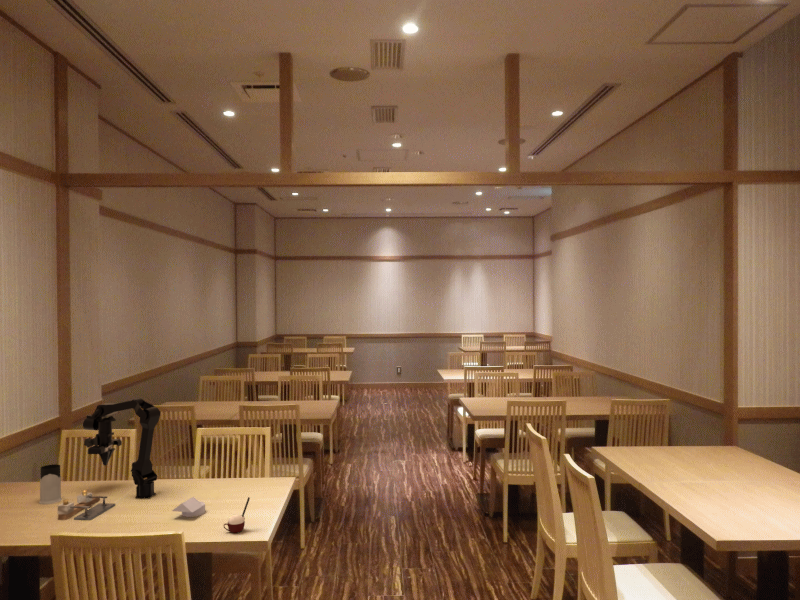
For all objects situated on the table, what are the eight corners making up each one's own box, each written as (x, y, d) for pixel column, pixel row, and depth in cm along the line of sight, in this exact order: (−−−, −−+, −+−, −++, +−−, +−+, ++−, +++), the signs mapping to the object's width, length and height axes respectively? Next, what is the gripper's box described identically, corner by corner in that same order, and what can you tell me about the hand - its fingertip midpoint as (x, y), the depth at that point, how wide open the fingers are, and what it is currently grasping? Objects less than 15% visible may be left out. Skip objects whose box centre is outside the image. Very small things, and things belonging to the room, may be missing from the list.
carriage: (109, 502, 259) (109, 489, 259) (104, 506, 255) (104, 492, 255) (83, 502, 260) (83, 488, 260) (77, 505, 256) (77, 492, 256)
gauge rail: (118, 500, 266) (117, 484, 266) (85, 520, 242) (85, 502, 242) (91, 500, 267) (91, 484, 267) (57, 519, 243) (57, 502, 243)
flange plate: (115, 505, 260) (115, 503, 260) (90, 520, 242) (90, 517, 242) (99, 505, 260) (99, 502, 260) (74, 519, 242) (74, 517, 242)
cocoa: (222, 535, 226) (220, 503, 225) (228, 528, 232) (226, 497, 232) (247, 534, 225) (246, 502, 225) (252, 527, 232) (250, 496, 231)
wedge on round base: (192, 521, 240) (209, 510, 253) (192, 503, 240) (209, 493, 253) (171, 519, 242) (189, 508, 255) (171, 502, 242) (189, 492, 255)
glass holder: (37, 505, 260) (37, 470, 260) (41, 496, 273) (41, 462, 273) (61, 502, 264) (61, 467, 264) (63, 493, 277) (63, 460, 277)
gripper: (99, 426, 289) (99, 460, 289) (76, 435, 270) (76, 470, 270) (122, 427, 288) (122, 460, 288) (100, 435, 270) (100, 470, 269)
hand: (105, 465), depth 279 cm, fingers closed
